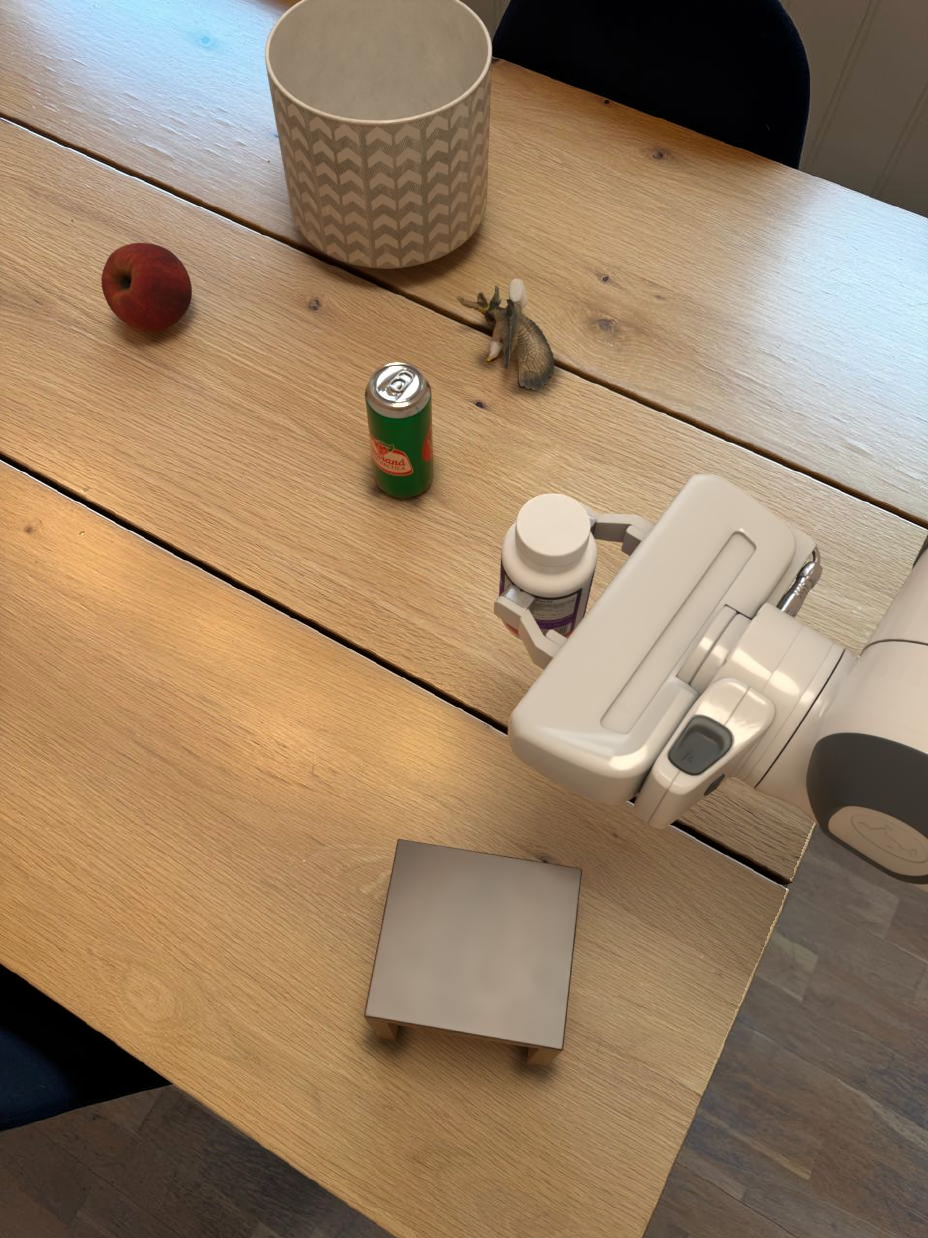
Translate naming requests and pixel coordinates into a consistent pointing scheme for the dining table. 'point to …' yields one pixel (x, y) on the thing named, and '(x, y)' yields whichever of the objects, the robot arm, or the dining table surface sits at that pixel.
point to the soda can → (400, 429)
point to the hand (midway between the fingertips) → (534, 556)
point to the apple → (146, 286)
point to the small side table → (476, 948)
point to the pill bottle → (551, 561)
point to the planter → (383, 125)
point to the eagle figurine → (516, 335)
